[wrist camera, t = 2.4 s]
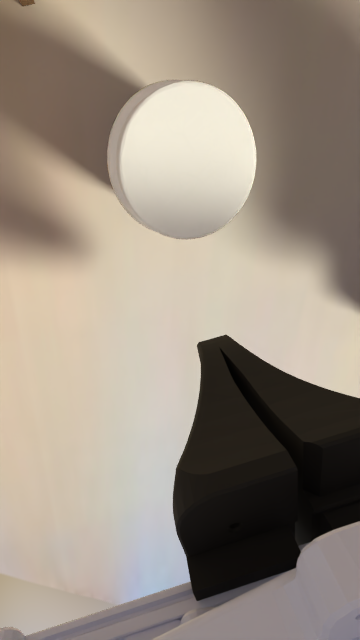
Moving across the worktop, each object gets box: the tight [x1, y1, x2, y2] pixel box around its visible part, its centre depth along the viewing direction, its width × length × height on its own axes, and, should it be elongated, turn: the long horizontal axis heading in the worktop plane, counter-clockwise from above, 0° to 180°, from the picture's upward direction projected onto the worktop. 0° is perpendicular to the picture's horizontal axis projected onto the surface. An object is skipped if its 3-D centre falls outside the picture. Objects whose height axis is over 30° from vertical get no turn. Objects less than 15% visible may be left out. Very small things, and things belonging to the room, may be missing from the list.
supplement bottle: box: [107, 80, 256, 239], centre depth 12 cm, size 5×5×8 cm
